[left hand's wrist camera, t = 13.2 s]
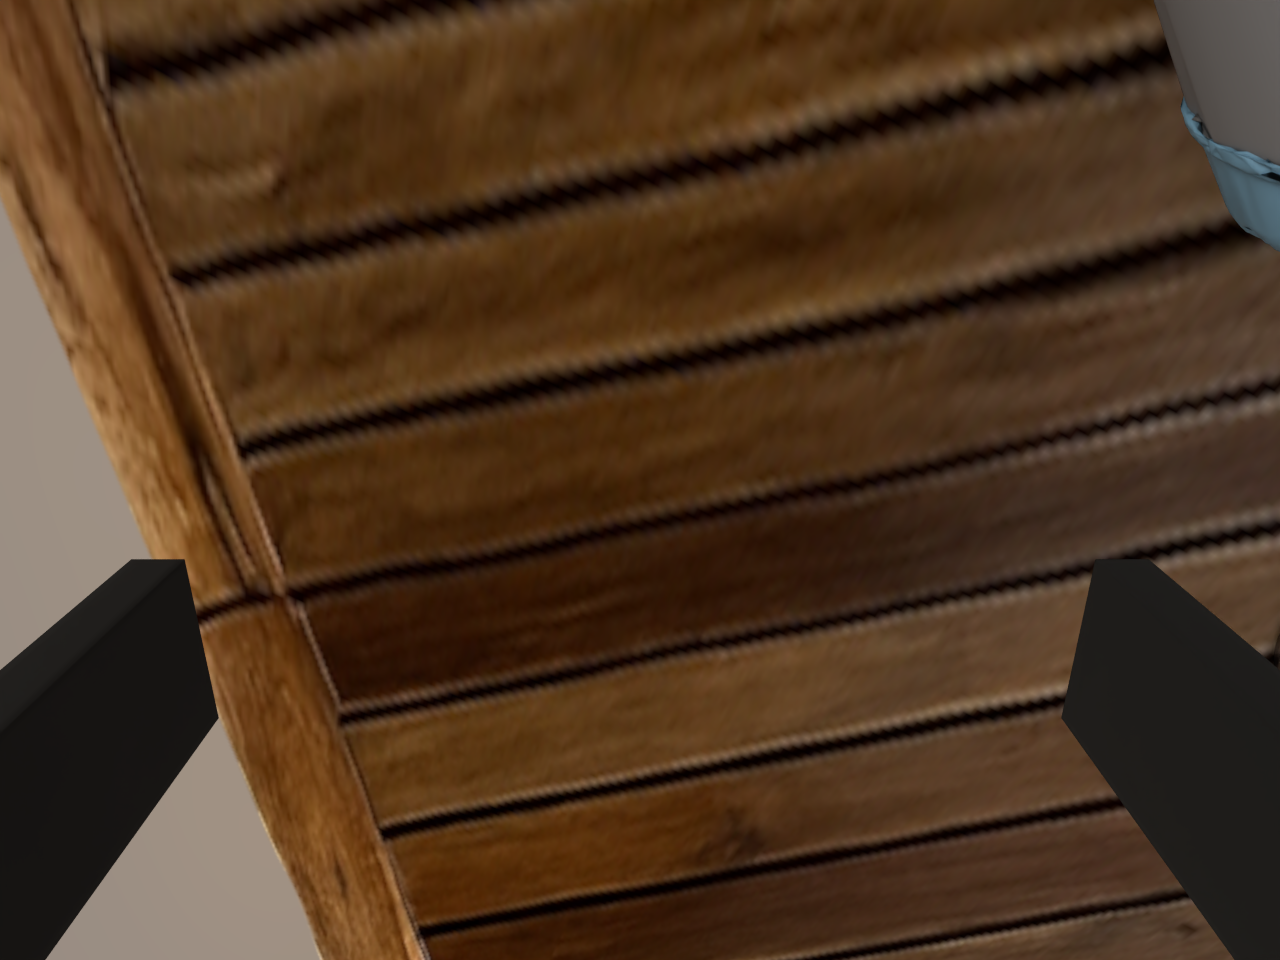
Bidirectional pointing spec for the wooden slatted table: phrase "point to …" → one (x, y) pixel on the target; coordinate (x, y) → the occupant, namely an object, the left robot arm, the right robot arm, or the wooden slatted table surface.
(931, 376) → the wooden slatted table surface
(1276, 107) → the left robot arm
